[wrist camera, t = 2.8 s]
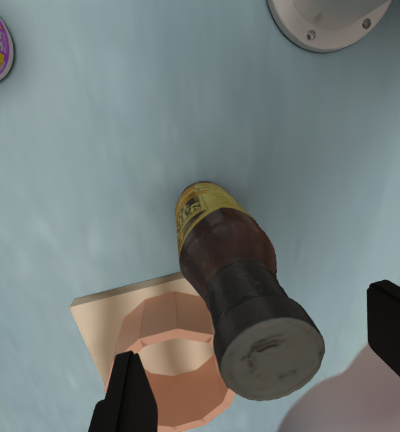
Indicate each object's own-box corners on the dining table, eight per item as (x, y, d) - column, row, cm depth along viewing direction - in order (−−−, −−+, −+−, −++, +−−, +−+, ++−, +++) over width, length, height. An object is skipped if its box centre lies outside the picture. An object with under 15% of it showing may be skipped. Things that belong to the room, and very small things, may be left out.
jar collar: (215, 280, 29) (227, 315, 23) (234, 365, 33) (248, 412, 27) (103, 309, 28) (86, 352, 22) (136, 392, 32) (129, 446, 26)
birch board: (238, 257, 30) (242, 263, 28) (256, 356, 35) (260, 366, 33) (74, 299, 29) (69, 307, 27) (116, 395, 34) (114, 406, 32)
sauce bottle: (179, 175, 26) (206, 261, 7) (235, 184, 27) (386, 279, 8) (170, 233, 28) (175, 422, 9) (223, 239, 29) (327, 421, 10)
